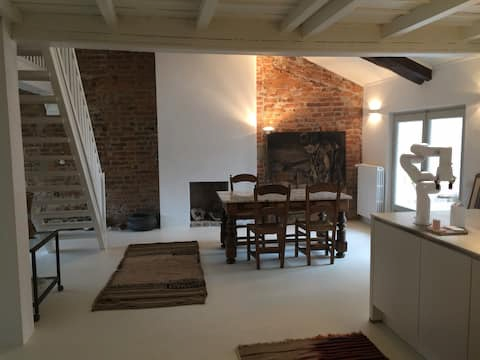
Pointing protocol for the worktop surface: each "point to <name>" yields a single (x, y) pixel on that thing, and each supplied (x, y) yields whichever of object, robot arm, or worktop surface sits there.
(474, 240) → the worktop surface
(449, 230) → the board
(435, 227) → the stub
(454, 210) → the milk carton
